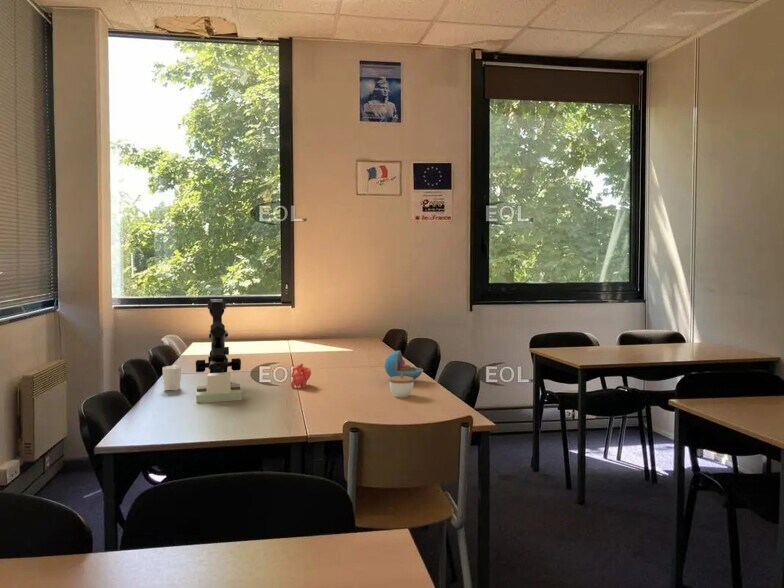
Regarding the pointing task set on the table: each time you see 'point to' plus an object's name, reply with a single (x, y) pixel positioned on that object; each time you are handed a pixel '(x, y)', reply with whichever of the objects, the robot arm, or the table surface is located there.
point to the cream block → (218, 383)
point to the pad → (218, 396)
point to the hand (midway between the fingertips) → (218, 381)
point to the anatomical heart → (299, 378)
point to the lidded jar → (401, 385)
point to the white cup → (171, 377)
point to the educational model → (400, 366)
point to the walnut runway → (205, 387)
